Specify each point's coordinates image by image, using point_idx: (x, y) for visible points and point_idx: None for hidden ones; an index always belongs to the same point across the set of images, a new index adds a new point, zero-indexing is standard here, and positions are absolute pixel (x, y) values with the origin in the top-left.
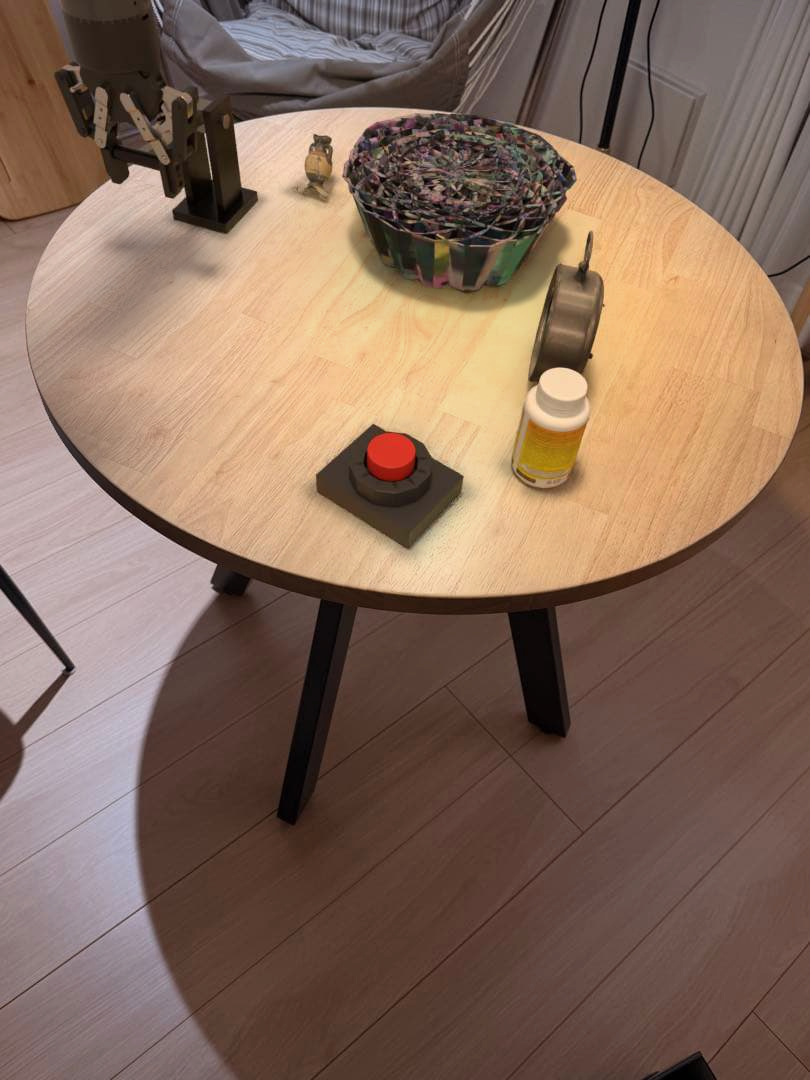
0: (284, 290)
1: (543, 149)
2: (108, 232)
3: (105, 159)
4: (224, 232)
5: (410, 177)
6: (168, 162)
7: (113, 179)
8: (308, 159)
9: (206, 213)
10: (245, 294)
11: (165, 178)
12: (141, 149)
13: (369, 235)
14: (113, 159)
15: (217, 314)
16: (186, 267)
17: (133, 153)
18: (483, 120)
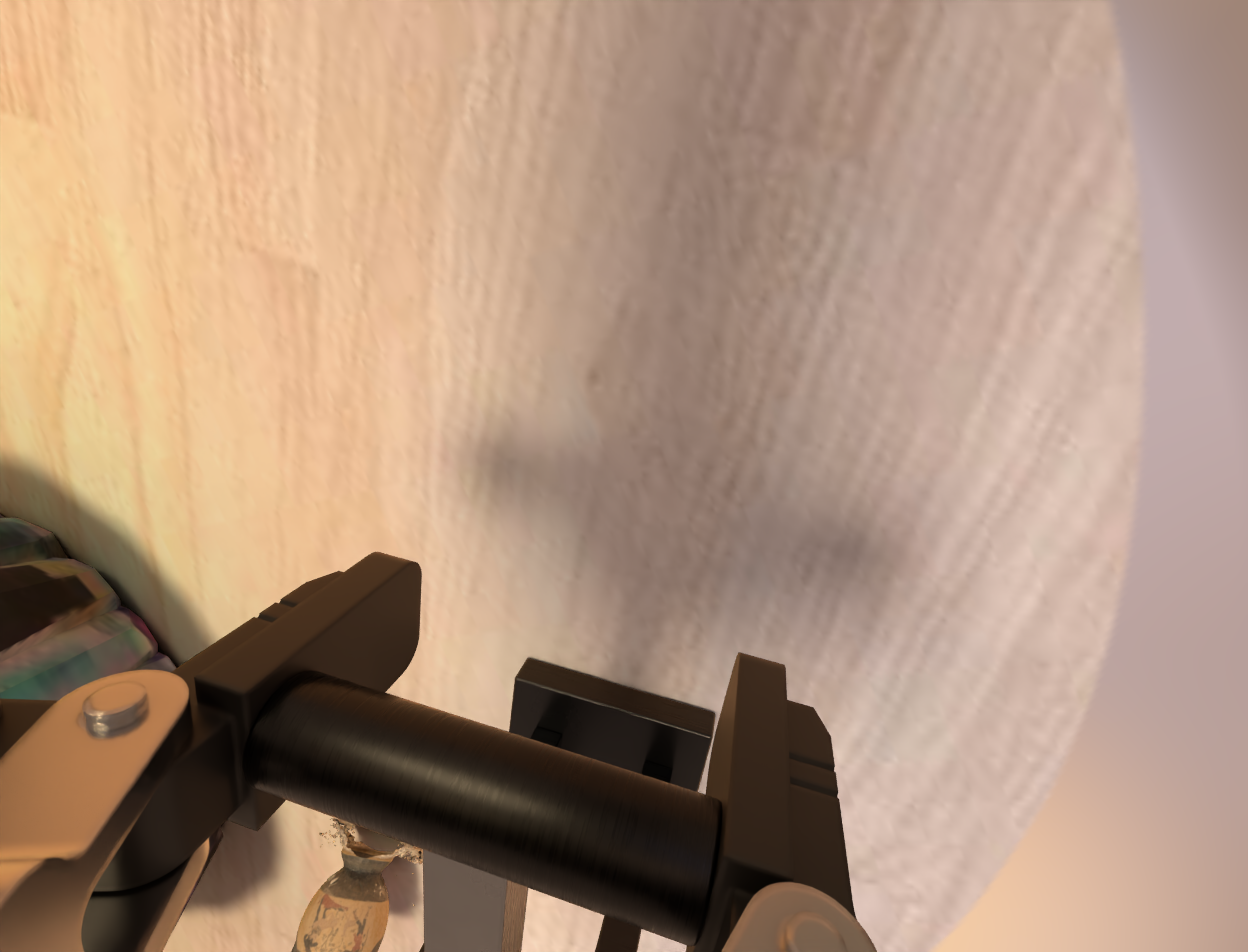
0: (265, 418)
1: None
2: (929, 623)
3: (815, 806)
4: (533, 661)
5: None
6: (109, 679)
7: (765, 671)
8: (343, 945)
9: (594, 728)
10: (351, 372)
11: (299, 616)
12: (483, 878)
13: (90, 640)
14: (725, 791)
15: (380, 240)
16: (578, 472)
17: (493, 817)
18: None
